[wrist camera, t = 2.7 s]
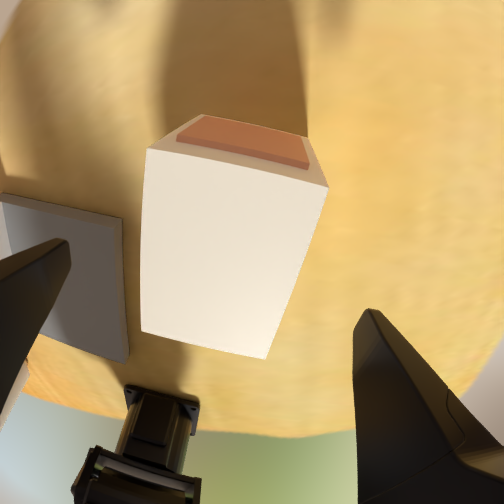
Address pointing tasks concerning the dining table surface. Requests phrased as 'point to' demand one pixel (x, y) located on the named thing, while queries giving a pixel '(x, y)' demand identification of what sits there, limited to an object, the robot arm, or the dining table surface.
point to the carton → (225, 231)
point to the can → (14, 393)
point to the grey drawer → (75, 272)
